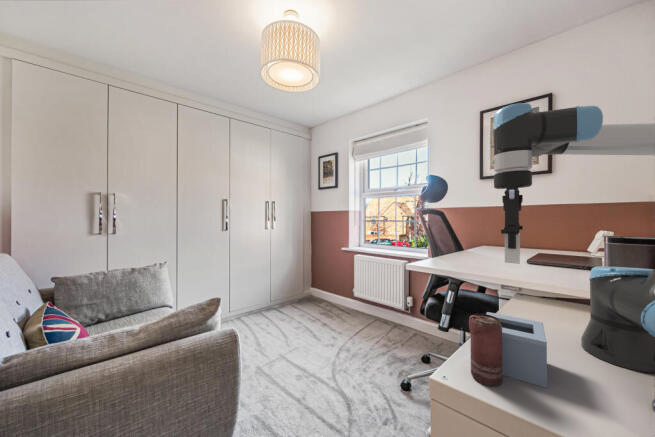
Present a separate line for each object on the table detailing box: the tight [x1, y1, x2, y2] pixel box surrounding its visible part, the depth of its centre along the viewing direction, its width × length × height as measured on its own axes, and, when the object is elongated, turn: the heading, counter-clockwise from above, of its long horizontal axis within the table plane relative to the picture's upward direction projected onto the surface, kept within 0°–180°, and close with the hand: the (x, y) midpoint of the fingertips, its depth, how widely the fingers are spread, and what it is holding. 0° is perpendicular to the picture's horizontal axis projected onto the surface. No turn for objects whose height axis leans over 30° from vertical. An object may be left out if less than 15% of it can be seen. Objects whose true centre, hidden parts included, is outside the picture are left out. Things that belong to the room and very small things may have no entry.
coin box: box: [485, 311, 548, 389], centre depth 63 cm, size 12×12×10 cm
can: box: [468, 313, 503, 387], centre depth 58 cm, size 6×6×14 cm
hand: (512, 258), depth 62 cm, fingers open, 13 cm apart
